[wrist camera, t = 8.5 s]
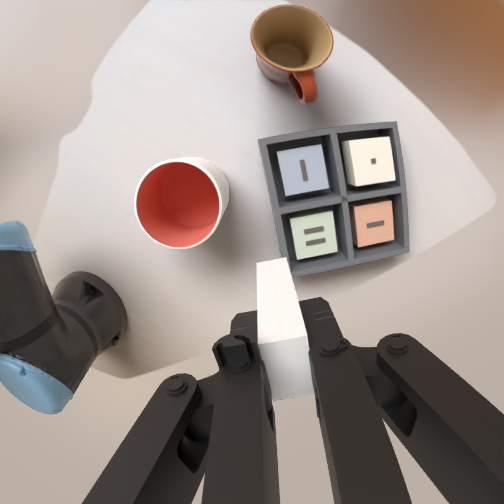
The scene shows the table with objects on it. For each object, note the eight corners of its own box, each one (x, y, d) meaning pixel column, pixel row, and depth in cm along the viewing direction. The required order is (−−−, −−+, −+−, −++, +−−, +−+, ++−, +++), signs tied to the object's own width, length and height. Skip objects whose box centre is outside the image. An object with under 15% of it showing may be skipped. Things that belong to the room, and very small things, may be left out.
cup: (245, 187, 39) (242, 199, 30) (200, 240, 42) (185, 267, 32) (189, 142, 37) (168, 140, 28) (147, 198, 40) (118, 212, 30)
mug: (243, 43, 32) (240, 12, 22) (303, 31, 31) (317, 0, 22) (268, 119, 36) (273, 108, 26) (329, 105, 35) (353, 92, 25)
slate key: (283, 192, 39) (285, 196, 35) (274, 151, 37) (276, 151, 33) (322, 184, 38) (329, 188, 35) (315, 144, 36) (321, 144, 33)
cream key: (347, 183, 36) (356, 186, 33) (340, 141, 34) (349, 140, 31) (384, 177, 36) (396, 180, 32) (378, 137, 34) (389, 136, 31)
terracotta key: (350, 239, 41) (358, 247, 37) (346, 202, 39) (354, 207, 36) (384, 232, 40) (394, 239, 37) (381, 196, 39) (392, 200, 35)
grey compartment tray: (282, 264, 43) (286, 278, 38) (257, 141, 37) (258, 139, 32) (394, 241, 41) (409, 252, 37) (380, 123, 36) (396, 121, 31)
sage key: (293, 251, 41) (297, 260, 38) (287, 213, 40) (290, 219, 36) (331, 243, 41) (337, 251, 38) (326, 206, 39) (332, 211, 36)
